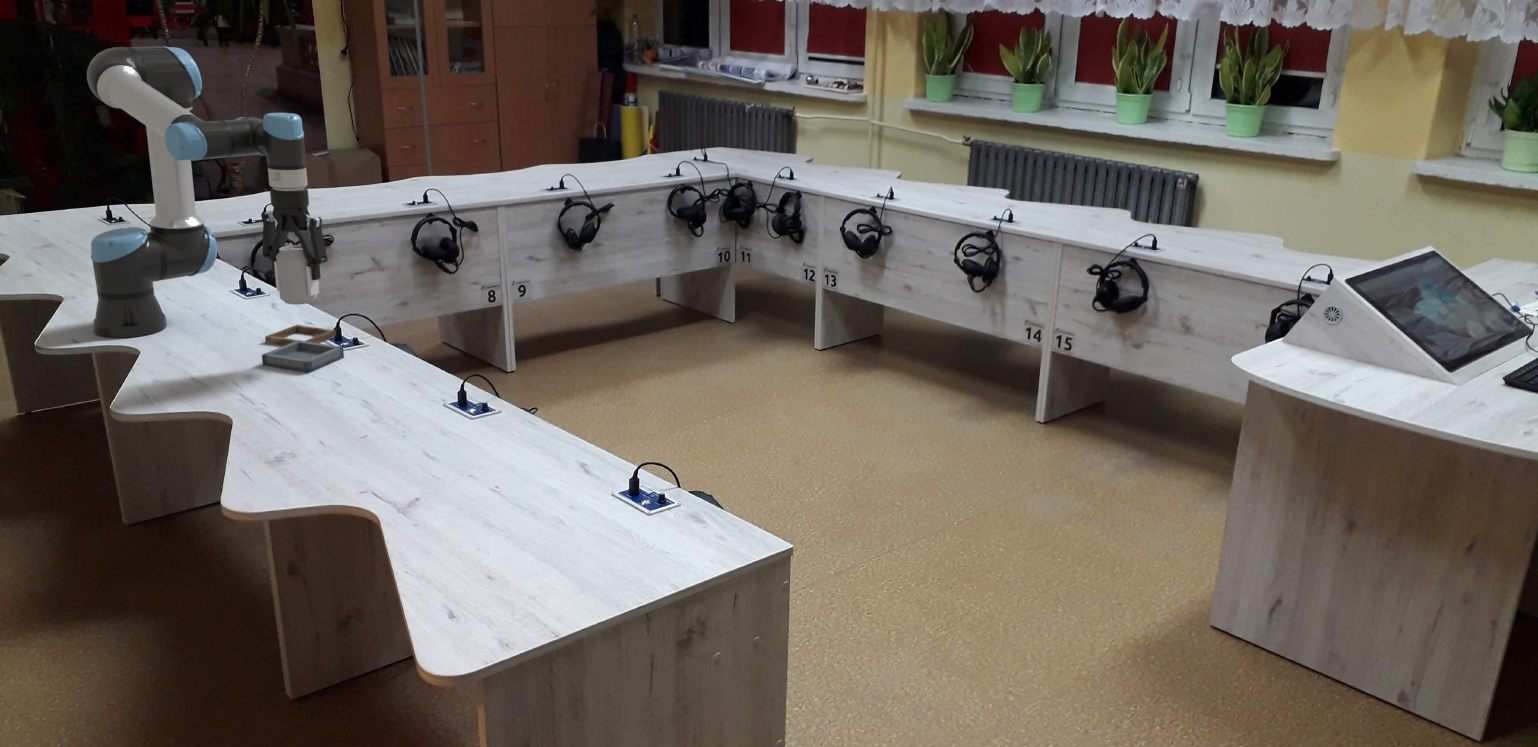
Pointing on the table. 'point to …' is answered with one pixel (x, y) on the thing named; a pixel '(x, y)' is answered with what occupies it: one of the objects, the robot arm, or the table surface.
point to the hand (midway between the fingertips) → (298, 291)
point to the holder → (279, 336)
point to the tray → (303, 356)
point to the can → (293, 275)
